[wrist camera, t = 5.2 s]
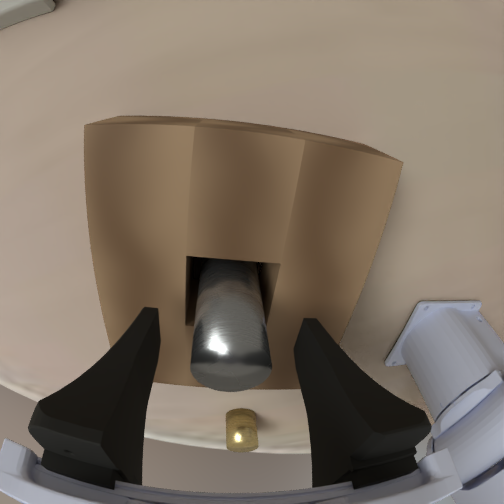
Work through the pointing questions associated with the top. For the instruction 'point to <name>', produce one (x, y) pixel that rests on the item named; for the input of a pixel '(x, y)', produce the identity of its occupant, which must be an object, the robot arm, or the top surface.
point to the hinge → (22, 10)
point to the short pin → (241, 430)
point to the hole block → (231, 225)
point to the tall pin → (230, 327)
